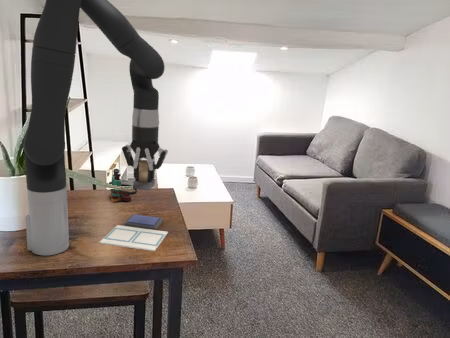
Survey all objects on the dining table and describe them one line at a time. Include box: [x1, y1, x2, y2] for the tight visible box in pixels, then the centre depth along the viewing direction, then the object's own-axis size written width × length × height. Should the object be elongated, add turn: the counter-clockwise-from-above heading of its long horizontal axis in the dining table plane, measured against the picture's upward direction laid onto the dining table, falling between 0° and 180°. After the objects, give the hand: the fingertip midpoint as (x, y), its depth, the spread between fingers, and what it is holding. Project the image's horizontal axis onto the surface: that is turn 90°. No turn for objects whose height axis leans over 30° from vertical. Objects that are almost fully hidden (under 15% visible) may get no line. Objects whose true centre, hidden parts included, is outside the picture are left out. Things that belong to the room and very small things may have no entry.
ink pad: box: [123, 213, 164, 230], centre depth 123 cm, size 10×7×2 cm
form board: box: [99, 224, 169, 252], centre depth 114 cm, size 16×12×1 cm
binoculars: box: [108, 168, 138, 203], centre depth 142 cm, size 9×11×10 cm
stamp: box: [132, 159, 156, 191], centre depth 118 cm, size 5×5×8 cm
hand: (144, 180), depth 118 cm, fingers closed on stamp, 3 cm apart
